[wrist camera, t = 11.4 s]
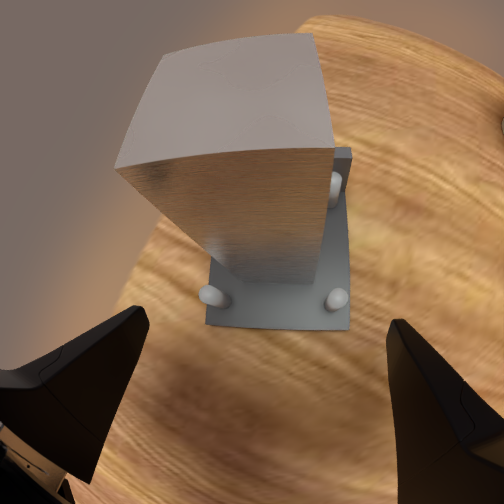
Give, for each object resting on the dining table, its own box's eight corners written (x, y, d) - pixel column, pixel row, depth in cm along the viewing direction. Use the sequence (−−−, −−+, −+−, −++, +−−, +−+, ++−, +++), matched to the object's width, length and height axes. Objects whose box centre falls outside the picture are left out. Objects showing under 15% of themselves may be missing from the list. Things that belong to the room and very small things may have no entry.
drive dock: (346, 330, 16) (363, 328, 11) (210, 324, 18) (178, 321, 13) (342, 188, 19) (350, 147, 14) (223, 191, 21) (201, 153, 16)
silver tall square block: (313, 284, 16) (334, 147, 4) (243, 283, 17) (113, 168, 5) (313, 217, 18) (312, 33, 5) (247, 218, 18) (163, 55, 6)
